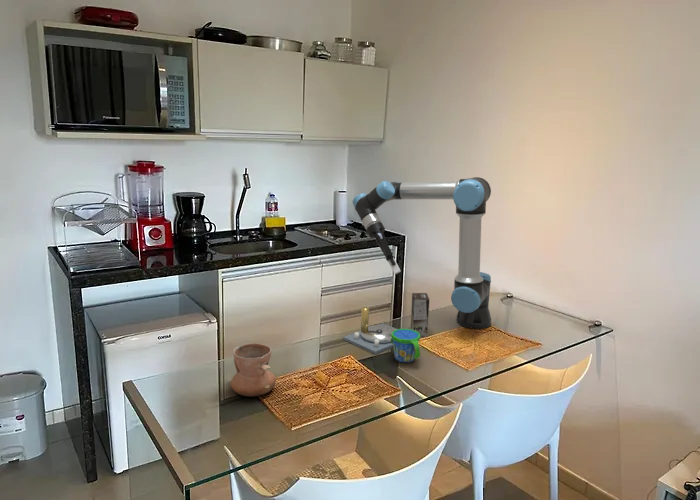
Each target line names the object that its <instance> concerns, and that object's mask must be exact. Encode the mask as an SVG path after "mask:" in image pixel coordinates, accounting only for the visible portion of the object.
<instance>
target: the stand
mask: <svg viewBox="0 0 700 500" xmlns="http://www.w3.org/2000/svg"><path fill="white" fill-rule="evenodd" d="M378 325H382V326H388V327H391V328H394V329H395V330H397V329H398V328H396V327H393V326H390V325H389V324H386V323H384V322H382V323H379V324H378ZM342 338H343V339H342V340H343V341H345V342H347V343H349V342H350V343H349V344H351V343H352V345H353V346H355V347H359V348H360V349H363V350H364V351H367V352H369V353H371V354H373V355H378V354H380V353H383V352H385V351H387V350H390V349H392V348H393V344H392V343H391V342H389V343H379V340H378V339H376V340H375V342H374V343H372V342H368V341H366V340H364V339H362V337H361V330H359V331H355V332H354V333H351V334H349V335H345V336H343V337H342Z"/></svg>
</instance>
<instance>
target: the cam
mask: <svg viewBox="0 0 700 500" xmlns="http://www.w3.org/2000/svg"><path fill="white" fill-rule="evenodd" d="M360 308H361V313H360V317H361V319H360V331H361V337H362V339H364V340H366V341H368V342H372V343H374V342H375V340H376V339H378V340H379V343H389V342H391V334H392V332H393V331H394V330H395V329H394V328H395V327H394V328H391V327H392V326H391V327H388V326H389V325H388V326H382V325H379V324H376V325H369V318H370V317H369V315H370V308H369V307H368V306H362V307H360Z"/></svg>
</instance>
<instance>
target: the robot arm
mask: <svg viewBox="0 0 700 500" xmlns="http://www.w3.org/2000/svg"><path fill="white" fill-rule="evenodd" d="M491 194H492V189H491V186H490V183H489V182H488V181H487V179H485V178H482V177H477V176H475V177H471V178H460V179H458V181H420V182H419V181H417V182H416V181H413V182H412V181H411V182H409V181H408V182H406V181H405V182H396V181H391V182H389V181H387V180H382V181H381V182H379V184H377V185H376V186H375V187H374V188H373V189H372V190H371V191H370V192H368V193H365V192H364V193H363V192H362V193H359V194H358V195H355V196H354V197H353V199H352V205H353V207H354V210H355V212H356V213H357V215H358V217H359V219H360V220H361V225H362V226H363V227H364V229H365V230H366V233H367V235H368V237H369V238H370V239H374V238H375V242H376V244H377V245H378V246H379V248H380V250H381V252H382V254H383V255H384V257H385V260H386V261H387V262H388V263H389V266H390V267H391V269H392V271H393V274H394V275H397V274H399V273H401V272H402V271H401V269H400V267H399V265H398V263H397V260H396V257H395V256H394V255H393V251H392V249H391V248H390V246H389V244H388V241H387V238H386V236H385V234H384V233H385V231H386V228H385V226H384V224H383V223H382V220H381V218H380V216H379V214H378V213H377V209H379V207H381V206H382V205H384V204H385V203H387V202H389V201H394V200H453V203H454V205H455V215H457V216H458V218H459V221H458V222H459V223H458V224H459V226H458V227H459V228H458V229H459V231H458V269H457V271H458V274H457V275H456V276H455V277H454V282H453V283H454V285H453V287H454V289H453V291H452V293H451V296H450V297H451V304H452V305H453V307H455V309H456V310H457V311H458V312H457V314H456V317H455V318H456V321H455V322H456V323H457V324H458V325H460V326H462V327H464V328H468V329H474V330H475V329H476V330H477V329H478V330H480V329H487V328H489V327H491V325H492V317H491V312H490V309H489V305H490V304H489V303H490V294H491V283H492V280H491V279H492V278H491V274H489V273H487V272H482V271H481V247H482V246H481V244H482V218H483V216H485V214H486V208H487V201H489V198H490V197H491Z"/></svg>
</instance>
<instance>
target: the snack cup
mask: <svg viewBox="0 0 700 500" xmlns="http://www.w3.org/2000/svg"><path fill="white" fill-rule="evenodd" d="M396 329H397V330H394V331H393V332H392V334H391V343H392V344H393V347H392V348H393V355H394V359H395V360H396V361H398V362H400V363H405V364H407V363H412V362H413V361H414V360H417V359H419V358H420V357H421V351H420V344H419V341H420V340H421V337H422V336H420V334H419V333H418V332H417V331H415V330H411V328H396Z"/></svg>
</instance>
